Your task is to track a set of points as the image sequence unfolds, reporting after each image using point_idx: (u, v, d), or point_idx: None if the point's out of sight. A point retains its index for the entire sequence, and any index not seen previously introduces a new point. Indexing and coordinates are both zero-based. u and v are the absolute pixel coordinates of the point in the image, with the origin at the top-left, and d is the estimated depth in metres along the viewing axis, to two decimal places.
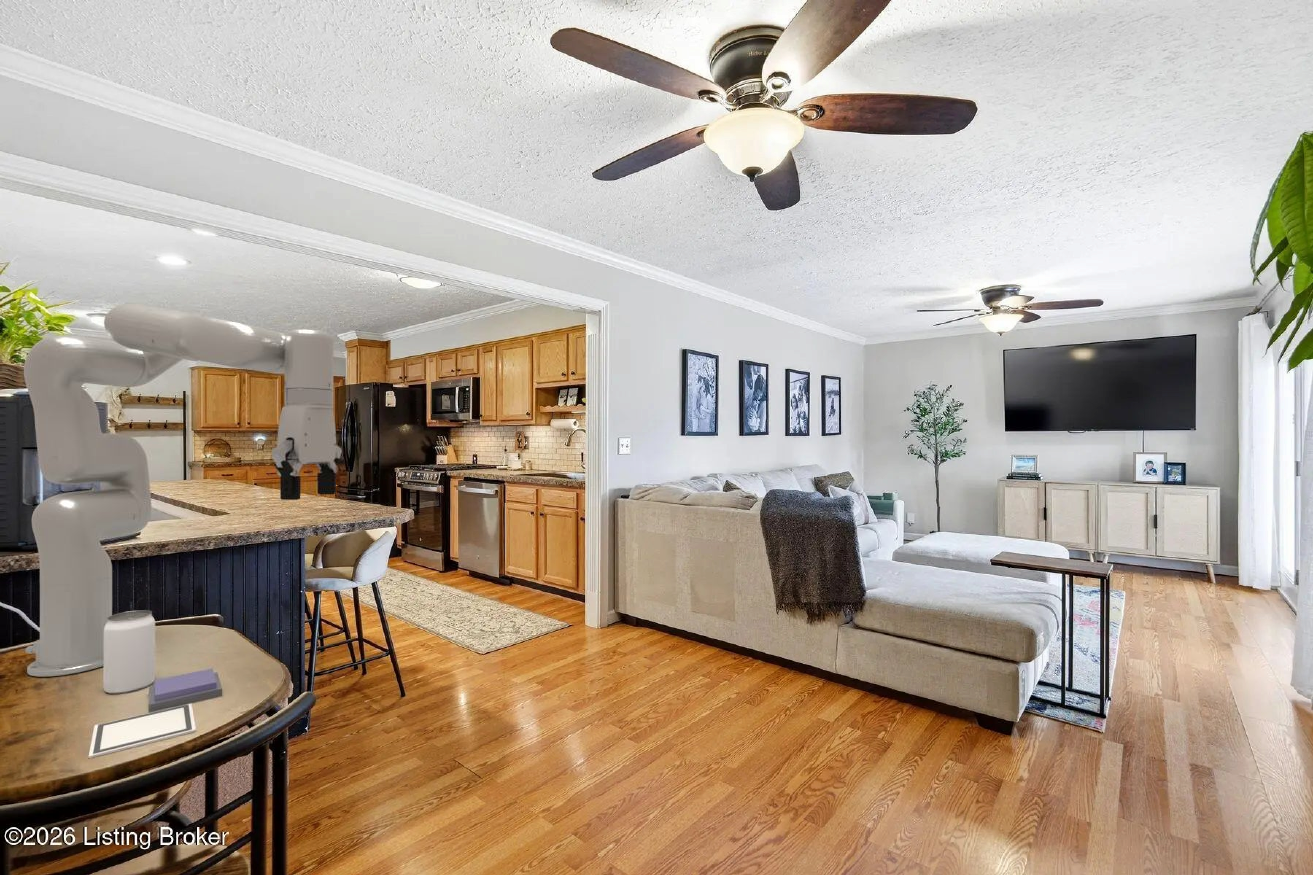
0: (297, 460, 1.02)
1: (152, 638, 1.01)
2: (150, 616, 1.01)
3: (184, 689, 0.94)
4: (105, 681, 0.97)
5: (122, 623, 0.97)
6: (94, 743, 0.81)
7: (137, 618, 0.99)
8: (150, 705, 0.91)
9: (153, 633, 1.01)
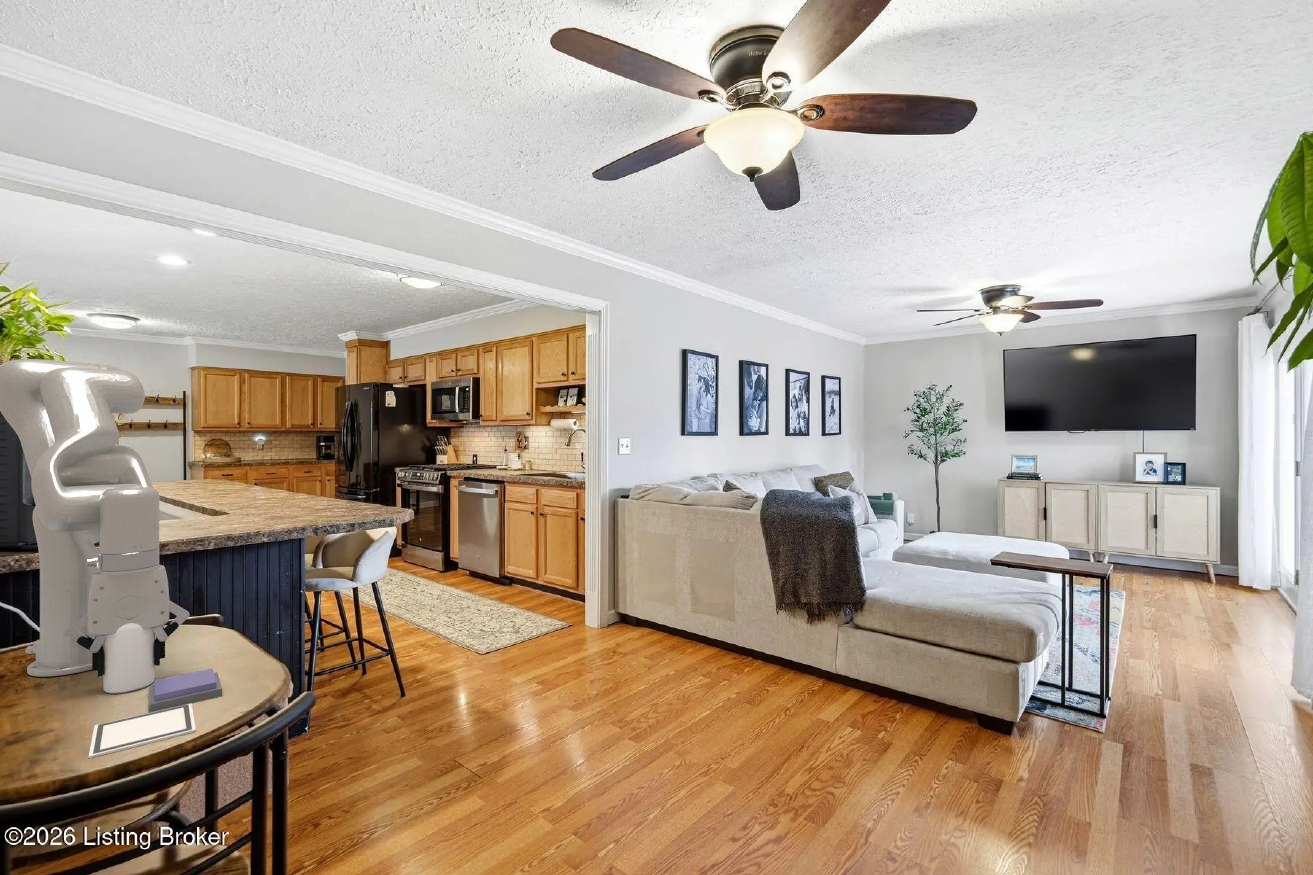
0: None
1: (152, 638, 1.01)
2: None
3: (184, 689, 0.94)
4: (105, 681, 0.97)
5: None
6: (94, 743, 0.81)
7: None
8: (150, 705, 0.91)
9: (153, 633, 1.01)
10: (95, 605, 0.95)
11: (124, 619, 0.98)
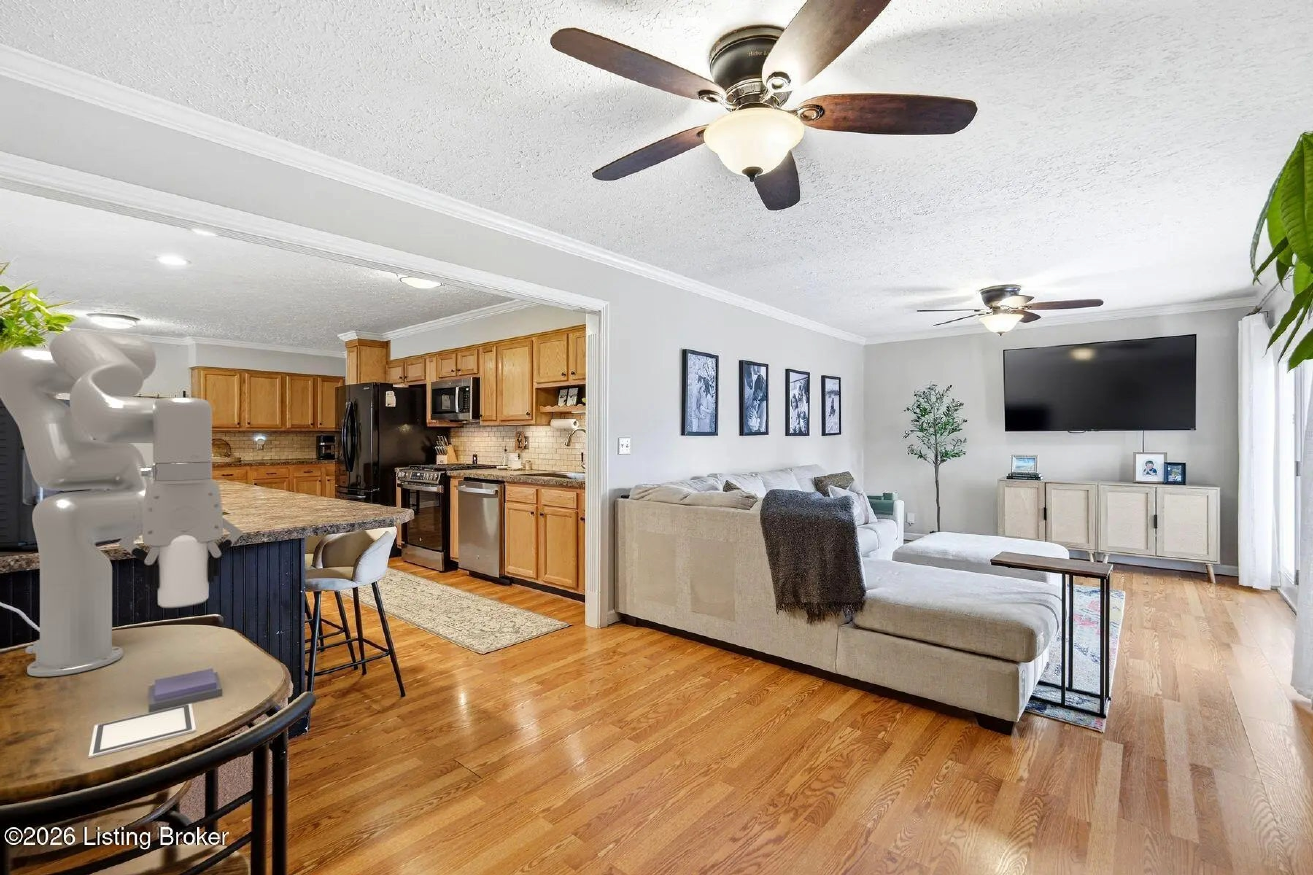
0: None
1: (206, 553, 0.98)
2: None
3: (184, 689, 0.94)
4: (160, 595, 0.94)
5: None
6: (94, 743, 0.81)
7: None
8: (150, 705, 0.91)
9: (207, 549, 0.98)
10: (150, 515, 0.92)
11: (179, 531, 0.94)
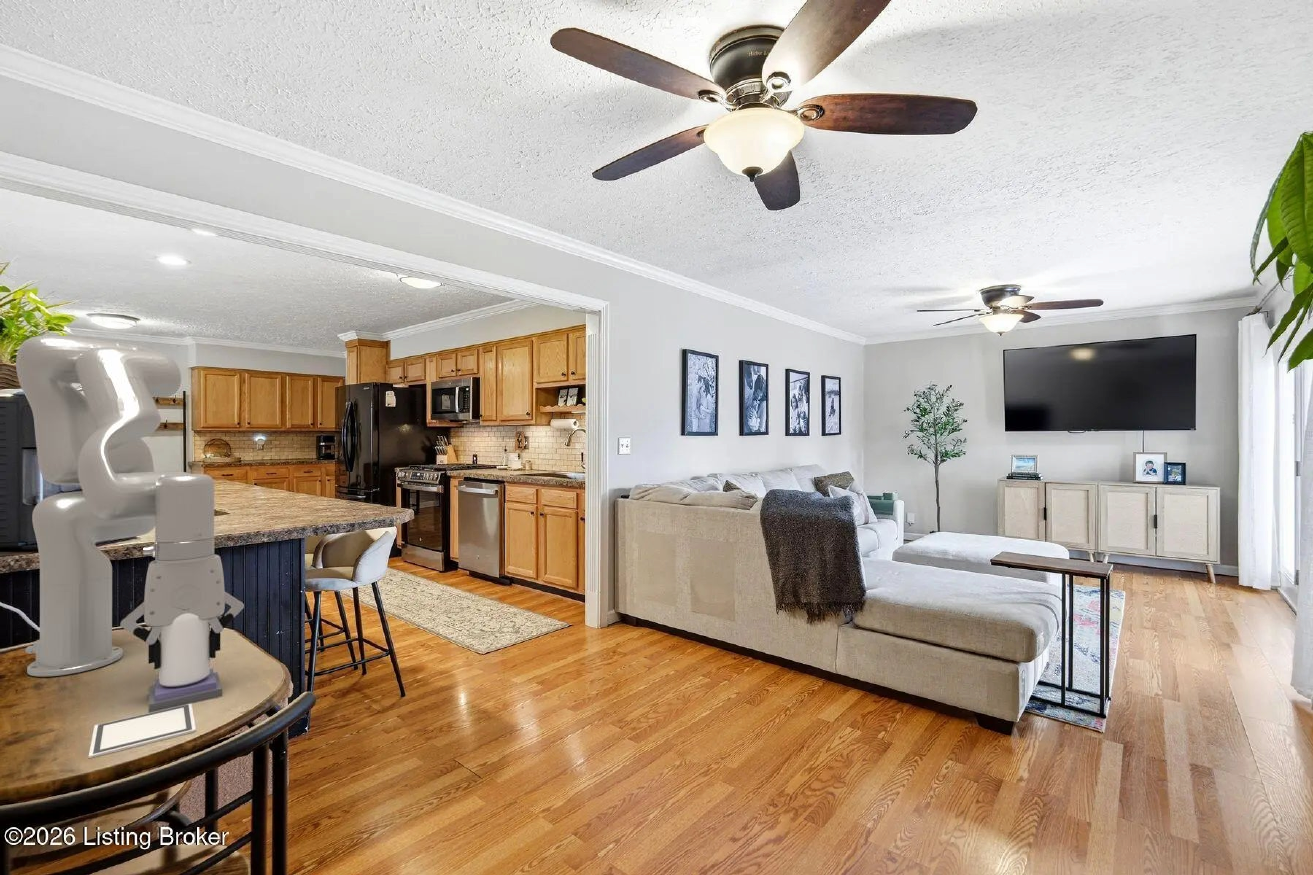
0: None
1: (207, 630, 0.98)
2: None
3: (184, 689, 0.94)
4: (161, 674, 0.94)
5: None
6: (94, 743, 0.81)
7: None
8: (150, 705, 0.91)
9: (208, 624, 0.98)
10: (152, 595, 0.92)
11: (181, 610, 0.94)
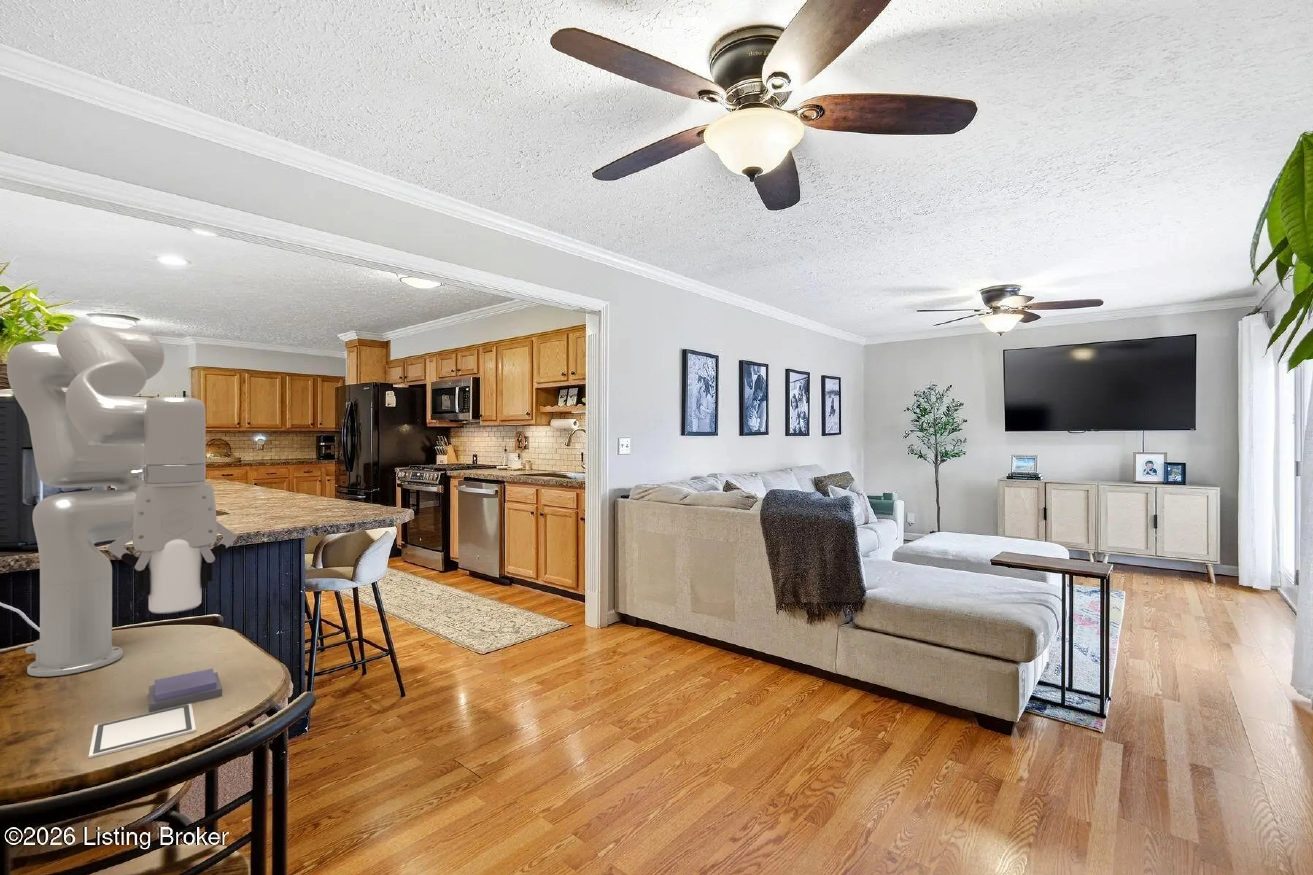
0: None
1: (199, 557, 0.94)
2: None
3: (184, 689, 0.94)
4: (151, 600, 0.91)
5: None
6: (94, 743, 0.81)
7: None
8: (150, 705, 0.91)
9: (200, 552, 0.95)
10: (141, 519, 0.89)
11: (172, 536, 0.91)
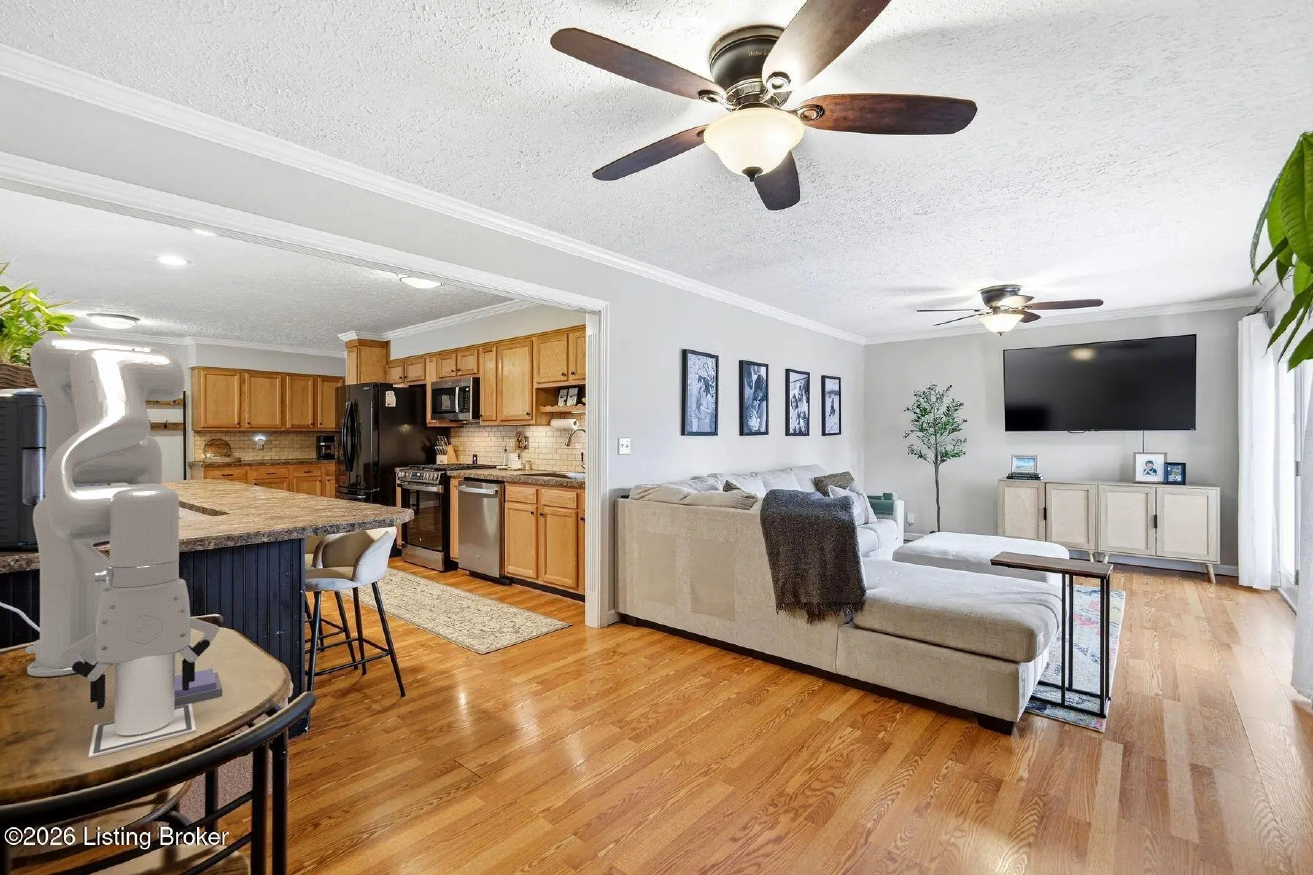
0: None
1: (171, 669, 0.86)
2: None
3: None
4: (117, 721, 0.83)
5: None
6: (94, 743, 0.81)
7: None
8: None
9: (173, 663, 0.87)
10: (105, 628, 0.81)
11: (139, 644, 0.83)
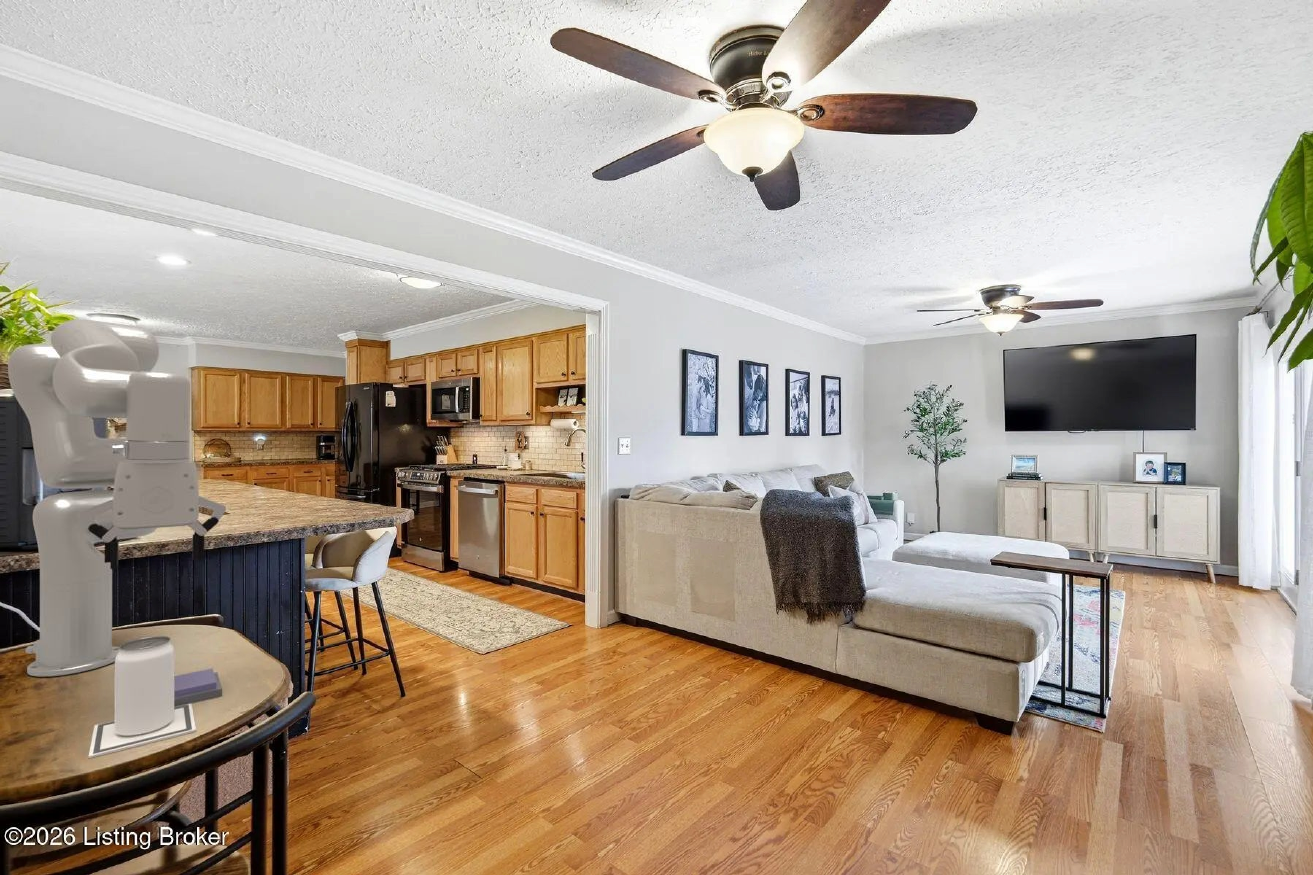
0: None
1: (171, 670, 0.86)
2: (169, 644, 0.86)
3: (184, 689, 0.94)
4: (116, 721, 0.83)
5: (137, 653, 0.83)
6: (94, 743, 0.81)
7: (154, 647, 0.84)
8: None
9: (172, 664, 0.87)
10: (120, 495, 0.88)
11: (151, 513, 0.90)
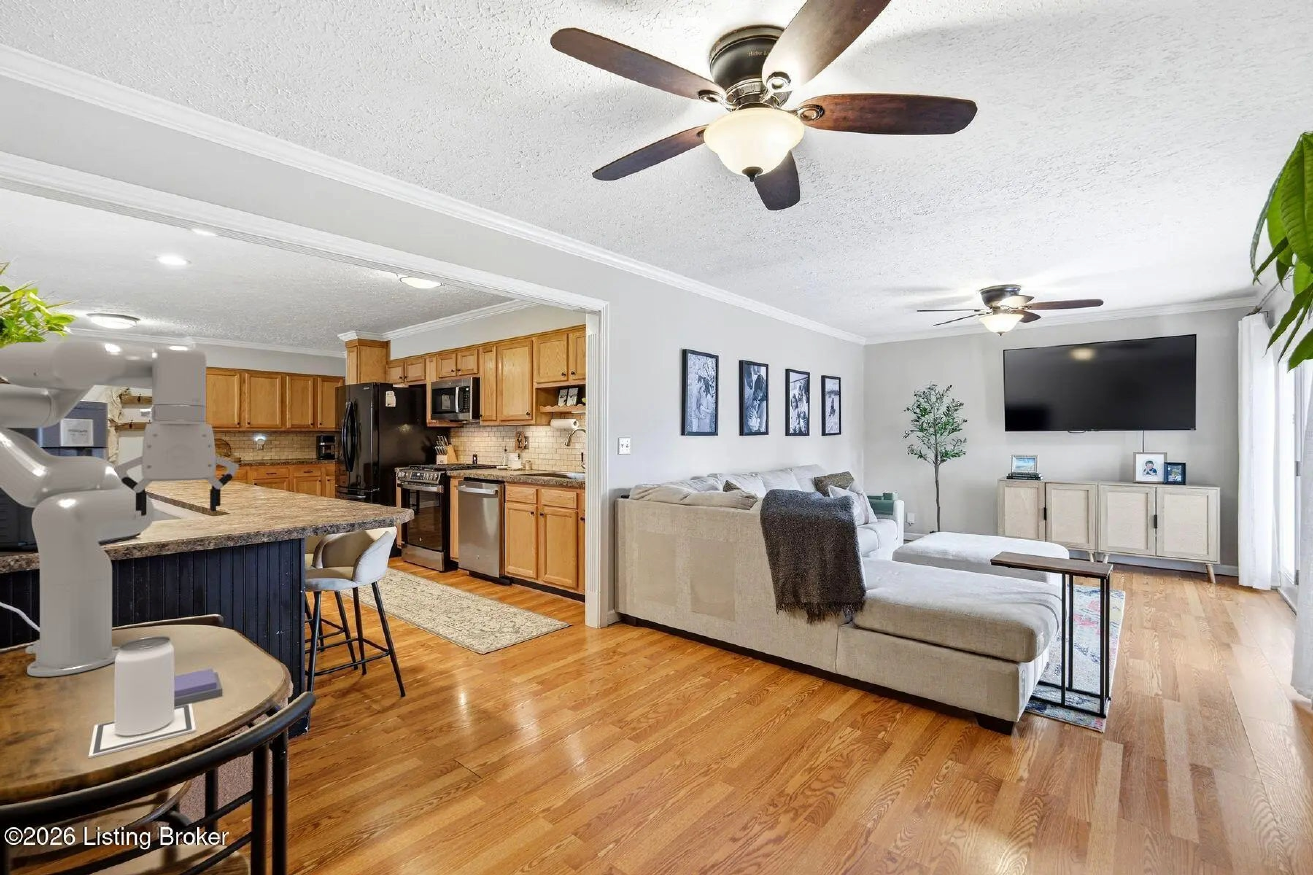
0: None
1: (171, 670, 0.86)
2: (169, 644, 0.86)
3: (184, 689, 0.94)
4: (116, 721, 0.83)
5: (137, 653, 0.83)
6: (94, 743, 0.81)
7: (154, 647, 0.84)
8: None
9: (172, 664, 0.87)
10: (149, 451, 1.02)
11: (175, 467, 1.04)
